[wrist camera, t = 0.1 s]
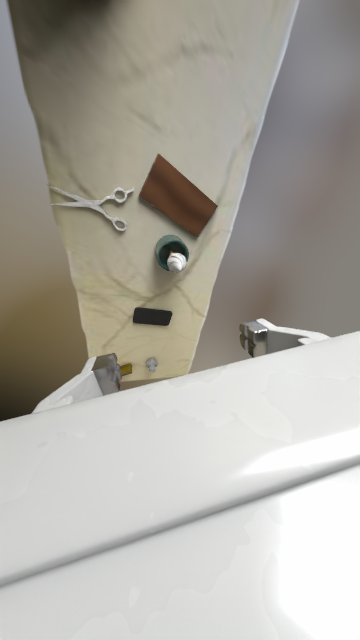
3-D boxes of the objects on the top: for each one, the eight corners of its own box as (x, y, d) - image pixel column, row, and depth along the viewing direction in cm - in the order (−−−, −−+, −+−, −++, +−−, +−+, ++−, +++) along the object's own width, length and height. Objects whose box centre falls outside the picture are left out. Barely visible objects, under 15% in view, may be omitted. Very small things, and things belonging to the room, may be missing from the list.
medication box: (108, 373, 92) (108, 380, 89) (106, 370, 90) (105, 378, 87) (132, 366, 92) (132, 373, 89) (130, 363, 90) (130, 370, 87)
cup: (165, 228, 56) (168, 233, 52) (189, 244, 60) (194, 250, 56) (150, 255, 60) (151, 262, 56) (174, 269, 65) (177, 276, 60)
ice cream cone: (163, 260, 62) (172, 282, 50) (159, 243, 58) (168, 262, 47) (179, 256, 62) (191, 277, 51) (177, 239, 58) (189, 257, 47)
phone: (135, 308, 70) (172, 312, 75) (135, 306, 71) (172, 311, 76) (132, 323, 74) (168, 326, 79) (132, 321, 75) (168, 324, 80)
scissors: (131, 232, 54) (50, 219, 47) (131, 231, 54) (51, 218, 48) (134, 188, 47) (41, 166, 41) (134, 188, 48) (42, 166, 42)
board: (157, 153, 45) (158, 153, 44) (216, 205, 55) (217, 206, 54) (138, 195, 49) (139, 195, 48) (196, 236, 59) (197, 237, 58)
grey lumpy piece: (157, 356, 92) (159, 369, 86) (155, 364, 96) (157, 378, 90) (146, 356, 90) (147, 370, 84) (144, 365, 94) (146, 378, 88)
